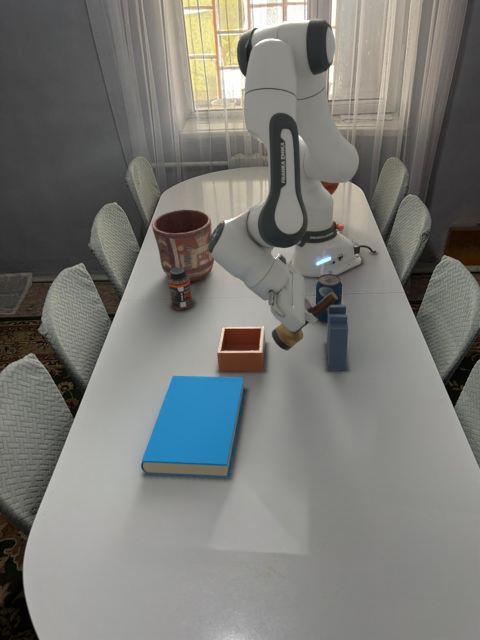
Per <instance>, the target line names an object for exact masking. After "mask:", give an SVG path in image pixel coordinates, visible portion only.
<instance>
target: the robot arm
mask: <svg viewBox="0 0 480 640" xmlns="http://www.w3.org/2000/svg"><path fill="white" fill-rule="evenodd" d="M236 45H237V46H236V59H237V65H238V68H239V71H240V73H241V74H242V75H243V76H244V78H245V83H244V94H243V97H244V98H243V110H244V111H243V115H244V122H245V123H244V124H245V128H246V130H247V132H248V134H250V135H251V137H253V138H254V139H255V140H256V141H257V142H260V143H261V144H263V145H264V147H265V149H266V152H267V166H268V167H267V168H268V169H267V170H268V193H267V196H266V198H265V200H264V201H261V202H258V203H256V204H253V205H251V206H249V207H248V208H247V209H246V210H245V211H243V212H242V213H240V214H238V215H236V216H235V217H232V218H230V219H226V220H222V221H221V222H220V223H218V224H217V226H216V227H215V228H214V230H213V231H212V235H211V238H210V240H209V245H208V248H209V253H210V255H211V256H212V257H213V258H214V262H216V263H217V264H218V265H219V266H221V268H223V270H225V271H226V272H227V273H228V274H229V275H231V276H232V277H234V278H236V279H238V280H240V281H241V282H242V283H243V284H244V286H246V288H247V289H249V291H251V292H253V294H255V295H256V296H257V297H259V298H260V299H261V300H262V301H265V302H266V301H267V303H268V305H269V306H270V312H271V314H272V315H273V317H275V319H276V320H277V321H279V323H280V324H281V323H282V324H283V325H284V326H285V327H286V328H287V329H289V330H290V331H292V332H296V331H298V330H299V329H300V328H301V327H302V326H304V325H305V320H306V321H308V322H309V323H308V324H310V325H314V324H315V323H316V322H317V320H318V319H317V317H316V315H314V314H313V313H309V312H308V311H309V310H310V309H312V308H313V307H314V306H315V305H314V304H313V303H312V302H311V300H310V299H309V297H308V296H307V295H306V294H305V292H306V290H305V278H304V277H309V278H310V277H312V278H314V277H315V278H319V277H320V276H322V275H324V274H334V275H337V276H339V275H340V274H342V273H345V272H347V271H349V270H351V269H353V268H355V267H357V266H359V265H361V264H362V258H361V256H360V254H361V248H364V249H368V251H370V253H372V254H376V253H377V250H373V249H372V247H370V246H369V245H363V244H359V243H358V242H357V241H356V240H355V239H354V238H352V239H348V237H346V236H344V235H343V234H341V233H340V232H343V231H344V229H345V226H344V225H343V224H341V223H340V222H338V223H337V221H335V220H334V198H333V196H332V195H331V194H330V193H329V192H328V191H327V190H326V189H325V188H324V187H323V185H322V183H321V181H324V182H328V183H339V184H344V183H345V184H346V183H348V182H349V181H351V180H352V179H353V178H354V176H355V175H356V173H357V171H358V169H359V164H360V158H359V153H358V150H357V148H356V147H355V146H354V145H353V144H351V143H350V142H349V141H348V140H347V139H346V138H345V137H344V136H343V134H342V133H341V131H340V130H339V128H338V125H336V122H335V120H334V118H333V116H332V113H331V110H330V104H329V98H328V92H327V84H326V78H325V72H327V71H328V70H329V69H330V67H331V66H332V65H333V62H334V57H335V54H336V38H335V35H334V32H333V28H332V26H331V24H329V22H328V21H327V20H325V19H322V18H310V19H309V20H308V19H307V20H306V19H300V20H299V19H298V20H285V21H281V22H280V23H275V24H270V25H269V24H268V25H266V26H263V27H260V28H258V27H254V28H251V29H249V30H246V31H245V32H243V33H242V34H241V36H240V38H239V40H238V41H237V44H236ZM291 247H294V250H293V255H292V260H291V263H290V262H289V261H287V258H286V256H285V255H284V254H282V253H278V254H277V255H276V256H274V255H273V254H272V252H273V250H274V248H280V249H288V248H291Z"/></svg>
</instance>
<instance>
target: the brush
mask: <svg viewBox="0 0 480 640" xmlns="http://www.w3.org/2000/svg"><path fill="white" fill-rule="evenodd" d="M336 300H338V297H337V295H336V294H335V293H334V292H331V293H329V294H328V295H327V296H326V297H325V298H323V299H322V300H321V301H320V302H319V303H317V304H316V305H314V307H313V308H312V309H310V310H309V311H308V312H309V313H313V314H314V315H316V317H317V316H318V315H319V314H320V313H322V312H323V311H324V310H325V309H327V308H328V307H329V306H330V305H331V304H333V303H334V302H335V301H336ZM308 324H310V323H309V322H308V321H306V320H305V325H304V326H302V327H301V328H300V329H299V330H298V331H296V332H292V331H290V330H289V329H287V328H286V327H285V326H284V325H283V324H282V323H281V322H280V324H279V325H278V326H276V327H275V328H274V329H273V330H272V331H271V338H272V339H273V341H274V343H275V344H276V345H277V346H278V347H279V348H280V349H282V350H284V351H289V350H291V349H292V348H293V347H294V346H295V345H297V344H298V343H300V341H302V340H303V339H304V331H303V329H304V328H305V327H306V326H307V325H308Z"/></svg>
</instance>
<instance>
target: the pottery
mask: <svg viewBox="0 0 480 640" xmlns="http://www.w3.org/2000/svg"><path fill="white" fill-rule="evenodd" d="M151 226H152V232H153V235H154V239H155V242H156V245H157V250H158V255H159V260H160V265H161V269H162V270H163V272H164V273H165V274H166V276H167V277H168V278H169V277H170V276H171V273H170V271H171V269H173V268H176V267H181V268H184V270H185V274H186V275H188V276H189V279H190V284H194V283H198V282H200V281H202V280H204V279H205V278H206V277H208V275H209V274H210V273H211V272H212V269H213V268H214V263H215V260H214V258H213V257H212V256H211V255H210V253H209V248H208V245H209V240H210V238H211V235H212V233H213V231H212V218H211V217H210V215H209V214H207V213H205V212H203V211H199V210H196V209H195V210H194V209H179V210H172V211H169V212H165V213H164V214H161V215H159V216H157V217H156V218H155V219H153V221H152V223H151Z"/></svg>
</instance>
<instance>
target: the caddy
mask: <svg viewBox="0 0 480 640" xmlns="http://www.w3.org/2000/svg"><path fill="white" fill-rule="evenodd" d="M265 329H266V327H265V326H222V327H221V332H220V337H219V340H218V341H219V342H218V347H217V352H216V355H217V362H218V371H219V372H264V367H265V355H266V333H265V332H266V330H265Z"/></svg>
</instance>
